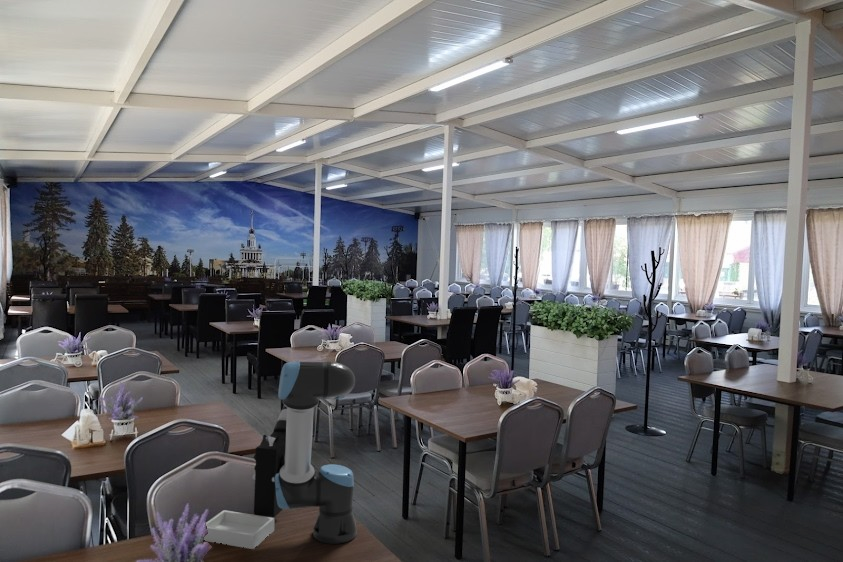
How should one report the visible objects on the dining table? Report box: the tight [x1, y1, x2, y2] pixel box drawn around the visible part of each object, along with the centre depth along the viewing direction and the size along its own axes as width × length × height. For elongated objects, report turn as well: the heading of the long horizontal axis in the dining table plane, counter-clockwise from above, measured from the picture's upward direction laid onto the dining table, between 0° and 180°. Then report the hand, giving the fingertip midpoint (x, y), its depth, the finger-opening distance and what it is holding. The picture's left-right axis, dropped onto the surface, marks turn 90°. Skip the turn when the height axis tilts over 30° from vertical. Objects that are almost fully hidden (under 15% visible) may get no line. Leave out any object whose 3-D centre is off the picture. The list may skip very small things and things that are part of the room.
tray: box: [204, 509, 276, 550], centre depth 203 cm, size 20×14×4 cm
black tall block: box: [253, 435, 286, 518], centre depth 215 cm, size 8×8×28 cm
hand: (264, 480), depth 212 cm, fingers closed on black tall block, 7 cm apart
